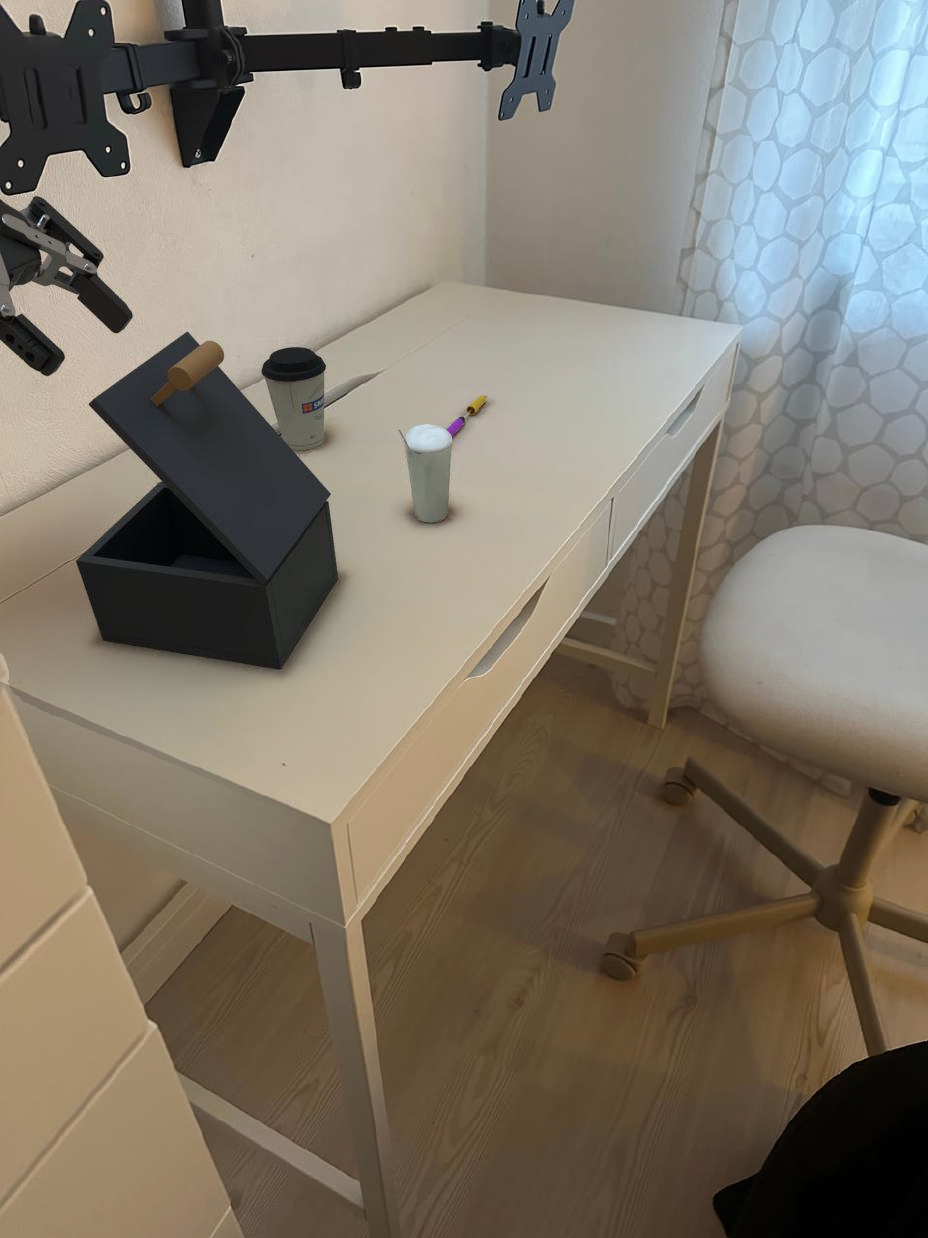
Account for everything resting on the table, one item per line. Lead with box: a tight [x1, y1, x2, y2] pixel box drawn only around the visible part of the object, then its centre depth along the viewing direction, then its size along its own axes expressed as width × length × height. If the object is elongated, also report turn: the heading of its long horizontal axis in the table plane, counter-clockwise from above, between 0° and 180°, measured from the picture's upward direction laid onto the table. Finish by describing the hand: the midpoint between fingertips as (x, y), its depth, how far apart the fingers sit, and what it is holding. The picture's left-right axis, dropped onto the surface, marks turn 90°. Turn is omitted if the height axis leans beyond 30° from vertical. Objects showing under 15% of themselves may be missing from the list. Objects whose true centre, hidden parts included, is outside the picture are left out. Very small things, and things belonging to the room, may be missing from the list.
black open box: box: [75, 481, 339, 670], centre depth 74 cm, size 16×13×8 cm
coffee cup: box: [260, 346, 327, 451], centre depth 98 cm, size 7×7×10 cm
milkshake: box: [397, 423, 453, 524], centre depth 85 cm, size 5×5×10 cm
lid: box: [88, 331, 332, 584], centre depth 66 cm, size 17×13×5 cm
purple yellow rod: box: [445, 395, 488, 437], centre depth 103 cm, size 3×1×16 cm
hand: (93, 345), depth 64 cm, fingers open, 8 cm apart
